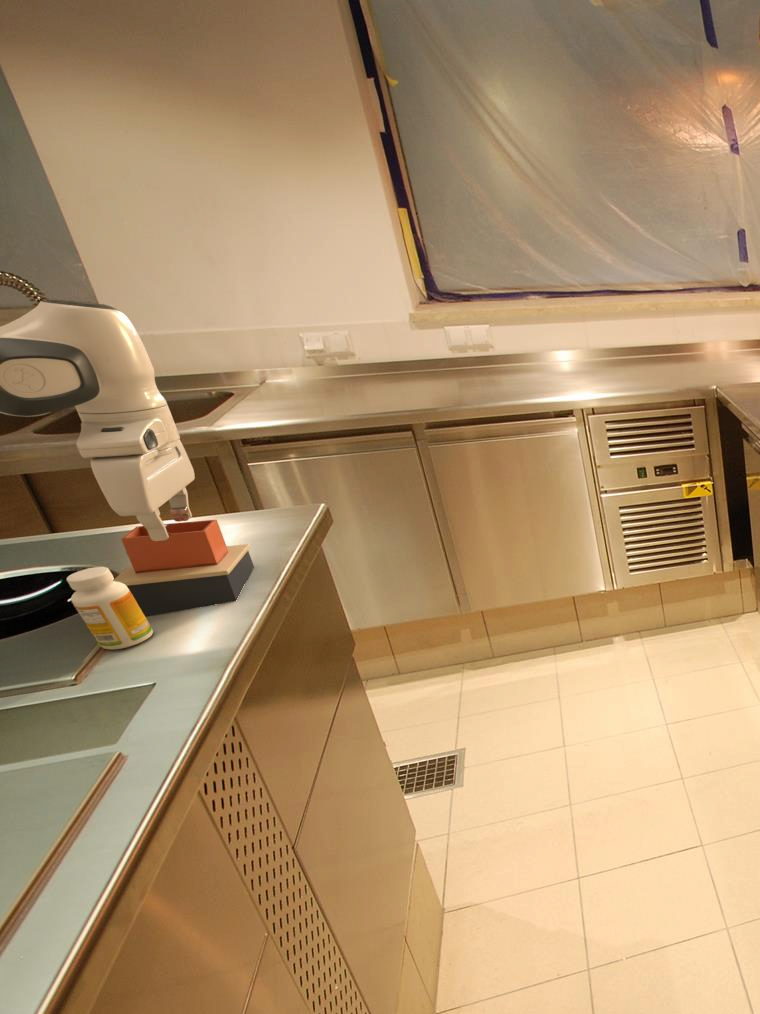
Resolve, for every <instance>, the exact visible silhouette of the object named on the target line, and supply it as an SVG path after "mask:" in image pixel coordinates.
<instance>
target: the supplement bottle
mask: <svg viewBox="0 0 760 1014" xmlns="http://www.w3.org/2000/svg"><path fill="white" fill-rule="evenodd" d="M114 579H115V578H114V575H113V573H112V572H111V570H110V569H109V568H108V567H106V566H94V567H90V568H89V567H88V568H84V569H81V570H78V571H75V572H73V573H71V574H70V575H68V576H67V577H66V582H67V583H68V585H69V587H70V588H71V590H73V591H74V592H73V594H72V595H71V597H70V601H71V603H72V605H73V607H74V608H75V609H76V611H77V612H78V614H79V616H80V618H81V619H82V621H83V623H85V625H86V626H87V628H88V629H89V631H90V633H91V635H92V636H93V637H94V639H95V640H96V642H97V644H98V645H99V647H100V648H102V649H104V650H105V649H106V650H121V649H125V648H130V647H133V646H135V645H138V644H140V643H142V642H144V641H146V640H148V639H149V638H151V636H152V635H153V633H154V630H153V628H152V625H151V623H150V622H149V620H148V619H147V617H145V616H144V614H143V612H142V610H141V609H140V607H139V605H138V604H137V602H136V600H135V598H134V597H133V595H132V594H131V592H130V590H129V589H128V587H127V586H126V585H125V584H123V583H121V582H116V581H113V580H114Z"/></svg>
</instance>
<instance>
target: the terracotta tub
mask: <svg viewBox="0 0 760 1014" xmlns="http://www.w3.org/2000/svg"><path fill="white" fill-rule="evenodd" d="M164 525H167V526H168V528H169V531H170V533H171V536H170V537H169V538H168V539H167V540H163V541H153V540H152V539H151V538H150V536H149V534H148V531H147V529H146V528H145V527H144V526H143V525H137V526H135V527H134V528H133V529H131V531H129V532H128V533H126V534H124V536H123V537H121V539H120V540H121V542H122V545H123V547H124V550H125V552H126V554H127V556H128V559H129V561H130V565H131V564H132V566H133V568H134V571H135V573H144V572H154V571H163V570H173V569H182V568H192V567H201V566H211V565H218V563H219V562H220V561H221V560H222V559H223V558H224V557H225V555H226V554H227V553H228V549H227V546H228V545H227V544H226V541H225V538H224V535H223V533H222V530H221V527H220V525H219V522H218V519H207V520H206V519H205V520H196V521H193V520H192V521H181V522H172V523H164Z"/></svg>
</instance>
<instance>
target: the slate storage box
mask: <svg viewBox="0 0 760 1014" xmlns="http://www.w3.org/2000/svg"><path fill="white" fill-rule="evenodd" d="M226 546H227V549H228V553H227V554H226V555H225V557H224V558H223V559H222V560H221V561H220V562H219V563H218V565H211V566H201V567H192V568H182V569H173V570H163V571H154V572H144V573H135V571H134V568H133V566H132V564H131V563H130V565H128V567H126V568H125V569H124V570H123V571H122V572H120V574H119V575H117V576H116V577H115V578H114V580H113V581H116V582H121V583H123V584H125V585H126V586H127V587H128V589H129V590H130V592H131V594H132V595H133V597H134V598H135V600H136V602H137V604H138V605H139V607H140V609H141V610H142V612H143V614H144V616H145V617H146V618H149V617H155V616H159V615H160V616H161V615H166V614H172V613H176V612H177V613H178V612H183V611H189V610H194V609H199V608H200V607H201V608H206V607H211V605H212V606H216V605H215V604H218V605H223V604H229V603H232V602H231V601H235V602H237V601H238V599H239V597H240V595H241V594H240V592H241V590H242V588H243V586H244V584H245V583H246V584H247V582H248V581H249V578H250V576H251V574H252V573H253V570H254V568H255V565H254V562H253V560H252V557H251V554H250V549H251V545H250V544H249V543H245V544H244V543H243V544H235V545H234V544H233V545H226ZM246 581H247V582H246ZM246 584H245V585H246ZM244 587H245V586H244ZM243 589H244V588H243ZM242 591H243V590H242ZM241 593H242V592H241ZM239 594H240V595H239ZM238 596H239V597H238ZM237 598H238V599H237ZM236 600H237V601H236ZM228 602H229V603H228ZM201 608H200V609H201Z"/></svg>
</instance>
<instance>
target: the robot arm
mask: <svg viewBox="0 0 760 1014" xmlns="http://www.w3.org/2000/svg"><path fill="white" fill-rule="evenodd" d="M155 375H156V374H155V367H154V366H153V363H152V362H151V359H150V357H149V354H148V352H147V349H146V347H145V345H144V343H143V341H142V339H141V337H140V335H139V333H138V331H137V329H136V328H135V325H134V324H133V323H132V321H131V320H130V318H129V317H128V316H127V315H126V314H125V313H123V311H121V310H119V309H117V308H115V307H113V306H110V305H107V304H104V303H103V304H102V303H96V302H89V301H81V300H80V301H79V300H70V299H59V298H52V299H51V298H50V299H45V300H41V301H39V303H38V304H37V306H35V307H34V308H32V309H31V310H30V311H28V312H27V313H26V314H24V315H22V316H20V317H18V318H17V319H14V320H12V321H10V322H8V323H6V324H4V325H1V326H0V414H3V415H7V416H13V417H22V418H23V417H24V418H30V417H32V418H33V417H40V416H44V415H47V414H51V413H54V412H58V411H62V410H65V409H68V408H73V407H75V410H76V412H77V414H78V416H79V418H80V421H81V423H80V433H79V436H78V437H77V440H76V441H75V445H76V448H77V450H78V452H79V455H80V456H81V457H82V459H83V458H84V459H90V467H91V470H92V474H93V475H94V479H95V480H96V482H97V484H98V486H99V488H100V490H101V492H102V494H103V496H104V498H105V499H106V501H107V503H108V505H109V506H110V508H111V509H112V510H113V511H114V512H115V513H116V514H117V515H118V516H119V517H133V516H134V517H136V520H137V521H138V522H139V523H140V525H141V526H144V527H145V528H146V529H147V531H148V534H149V536H150V538H151V539H152V540H153V541H163V540H167V539H168V538H169V537H170V536H171V533H170V531H169V528H168V526H167V525H164V524H165V523H164V521H163V520H162V517H161V516H160V515H161V512H160V510H159V509H160V507H162V506H163V505H164V504H165V503H167V502H169V506H170V509H169V512H170V514H171V516H172V520H173V521H174V522H176V523H181V522H188V521H189V520H190V519H192V517H193V514H192V512H191V509H190V507H189V496H188V490H187V486H189V484H191V483H192V482H193V481H195V479H196V477H195V471H194V470H195V469H194V467H193V465H192V462H191V459H190V458H189V456H188V453H187V451H186V449H185V446H184V445H183V443H182V441H181V440H180V439H181V436H180V433H179V431H178V428H177V426H176V423H175V420H174V418H173V415H172V413H171V410H170V408H169V405H168V402H167V400H166V399H165V397H164V396H163V395H162V394H161V392H160V390H159V388H158V386H157V384H156V377H155Z"/></svg>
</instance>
